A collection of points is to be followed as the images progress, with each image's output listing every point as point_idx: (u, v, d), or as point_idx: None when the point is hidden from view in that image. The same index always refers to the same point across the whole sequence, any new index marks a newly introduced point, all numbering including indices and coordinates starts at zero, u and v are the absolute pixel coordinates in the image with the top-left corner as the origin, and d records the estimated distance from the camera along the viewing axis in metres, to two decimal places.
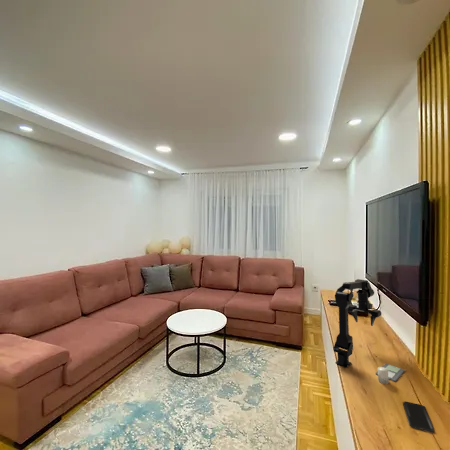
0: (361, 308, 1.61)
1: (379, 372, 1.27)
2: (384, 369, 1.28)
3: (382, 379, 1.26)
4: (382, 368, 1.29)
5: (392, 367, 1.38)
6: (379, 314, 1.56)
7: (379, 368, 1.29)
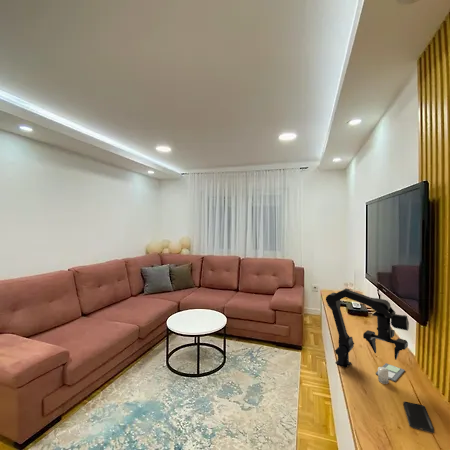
0: (382, 337, 1.29)
1: (379, 372, 1.27)
2: (384, 369, 1.28)
3: (382, 379, 1.26)
4: (382, 368, 1.29)
5: (392, 367, 1.38)
6: (406, 345, 1.24)
7: (379, 368, 1.29)
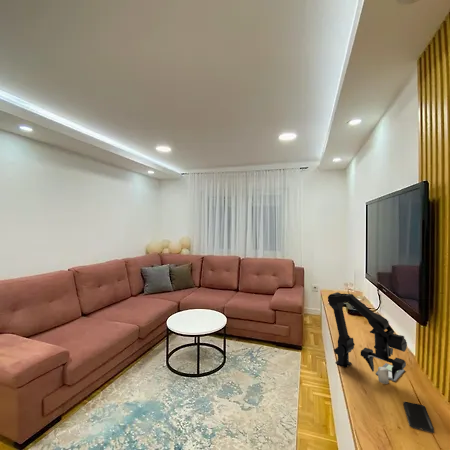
0: (379, 355, 1.26)
1: (379, 372, 1.27)
2: (384, 369, 1.28)
3: (382, 378, 1.26)
4: (382, 368, 1.29)
5: None
6: (403, 365, 1.21)
7: (379, 368, 1.29)
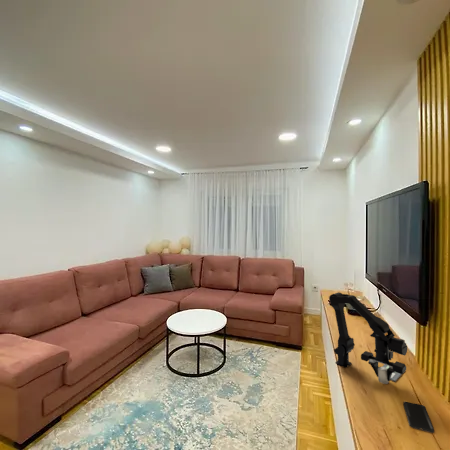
0: (380, 359, 1.26)
1: (379, 372, 1.27)
2: (384, 369, 1.28)
3: (382, 379, 1.26)
4: (382, 368, 1.29)
5: None
6: (404, 369, 1.21)
7: (379, 368, 1.29)
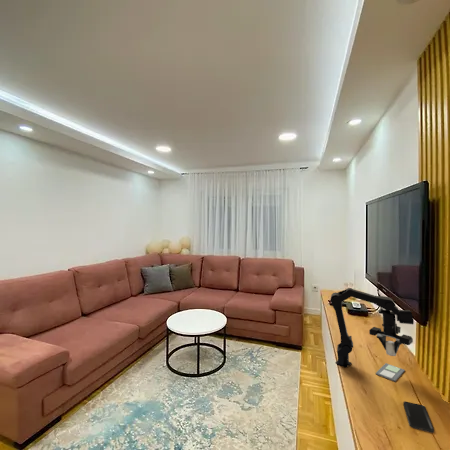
0: (387, 333, 1.34)
1: (387, 345, 1.35)
2: (391, 342, 1.35)
3: (390, 351, 1.34)
4: (390, 341, 1.36)
5: (392, 367, 1.38)
6: (410, 341, 1.28)
7: (387, 342, 1.36)
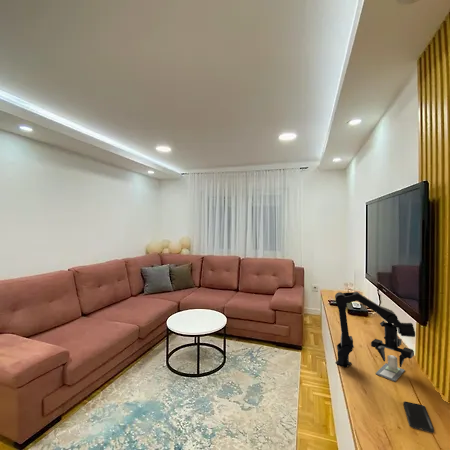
0: (389, 345, 1.35)
1: (389, 360, 1.36)
2: (393, 357, 1.37)
3: (392, 366, 1.35)
4: (391, 356, 1.38)
5: None
6: (412, 354, 1.30)
7: (389, 356, 1.38)
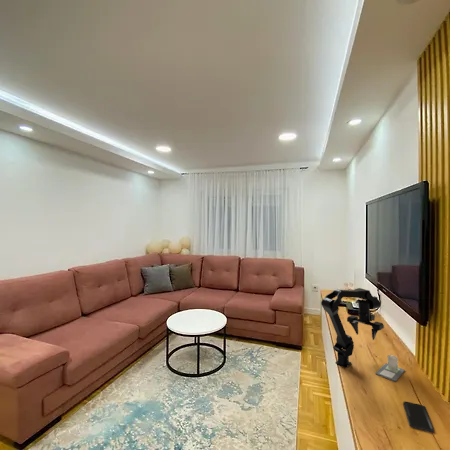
0: (362, 320, 1.50)
1: (389, 360, 1.36)
2: (394, 357, 1.37)
3: (392, 366, 1.35)
4: (391, 356, 1.38)
5: None
6: (381, 327, 1.43)
7: (389, 356, 1.38)
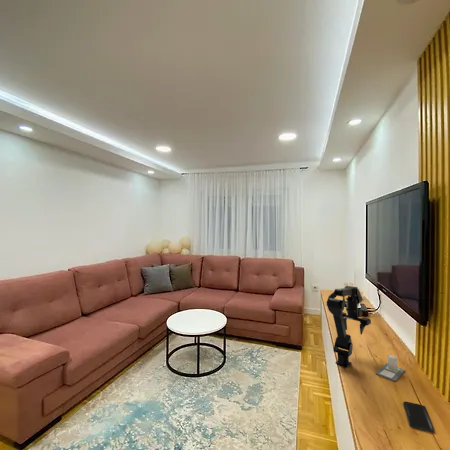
0: (350, 316, 1.56)
1: (389, 360, 1.36)
2: (393, 357, 1.37)
3: (392, 366, 1.35)
4: (391, 356, 1.38)
5: None
6: (368, 322, 1.51)
7: (389, 356, 1.38)
